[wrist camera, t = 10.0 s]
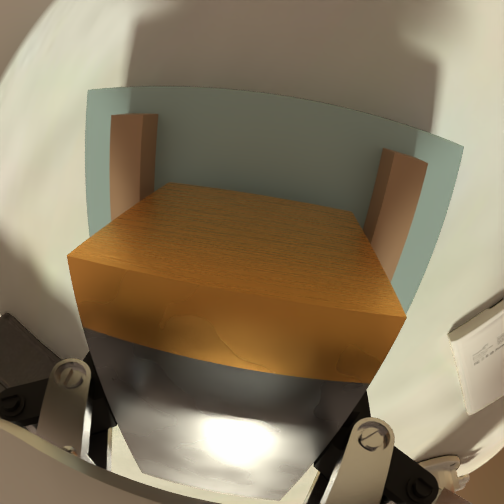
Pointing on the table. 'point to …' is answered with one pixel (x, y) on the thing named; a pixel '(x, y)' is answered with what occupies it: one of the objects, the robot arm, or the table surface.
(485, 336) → the external hard drive
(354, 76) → the table surface
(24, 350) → the camera
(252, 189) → the stand
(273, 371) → the block
